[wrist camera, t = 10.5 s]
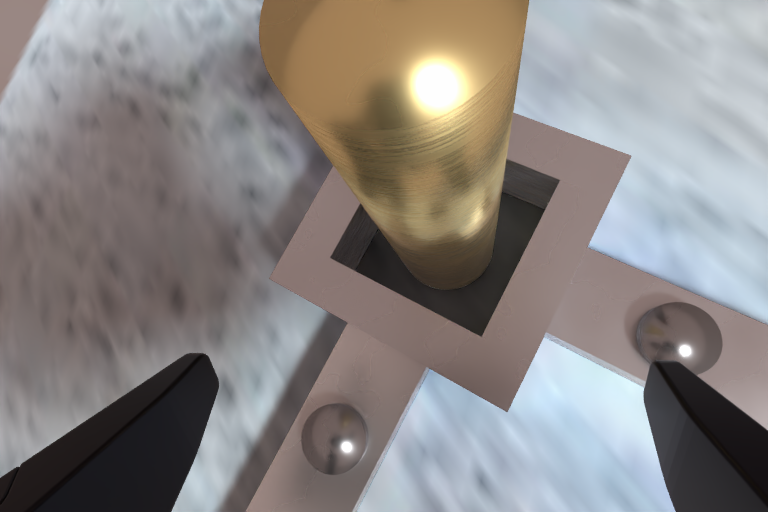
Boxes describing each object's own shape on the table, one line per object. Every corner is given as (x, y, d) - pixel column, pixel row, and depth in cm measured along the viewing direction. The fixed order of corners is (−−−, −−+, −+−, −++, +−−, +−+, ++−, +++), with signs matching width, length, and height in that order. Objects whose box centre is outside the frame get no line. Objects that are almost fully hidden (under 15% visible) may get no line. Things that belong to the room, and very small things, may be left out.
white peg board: (733, 1083, 12) (818, 1320, 9) (144, 572, 17) (78, 612, 14) (999, 344, 14) (1134, 339, 11) (401, 110, 20) (389, 67, 17)
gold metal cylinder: (467, 306, 17) (446, 174, 5) (385, 264, 18) (212, 74, 6) (509, 223, 18) (578, -72, 6) (427, 186, 19) (339, -129, 7)
